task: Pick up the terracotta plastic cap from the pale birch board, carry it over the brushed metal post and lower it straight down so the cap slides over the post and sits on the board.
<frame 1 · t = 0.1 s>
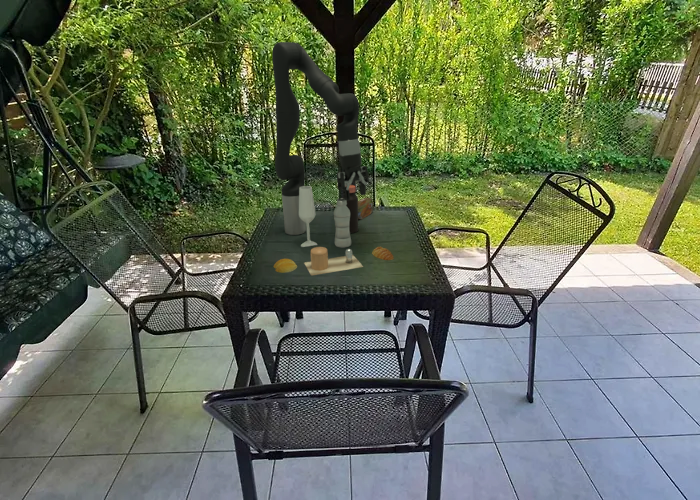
hand: (355, 197, 157), 22 cm above the table, tool pointing down, fingers open, 8 cm apart
post: (349, 262, 155), resting on board
vinegar: (350, 231, 188), on the table
bread roll: (285, 271, 153), on the table
pastry: (383, 259, 161), on the table
champagne flute: (309, 245, 174), on the table
tin: (363, 216, 205), on the table
plastic bottle: (343, 248, 171), on the table
cap: (319, 266, 152), point 1 cm above the table, touching board
board: (333, 268, 154), on the table
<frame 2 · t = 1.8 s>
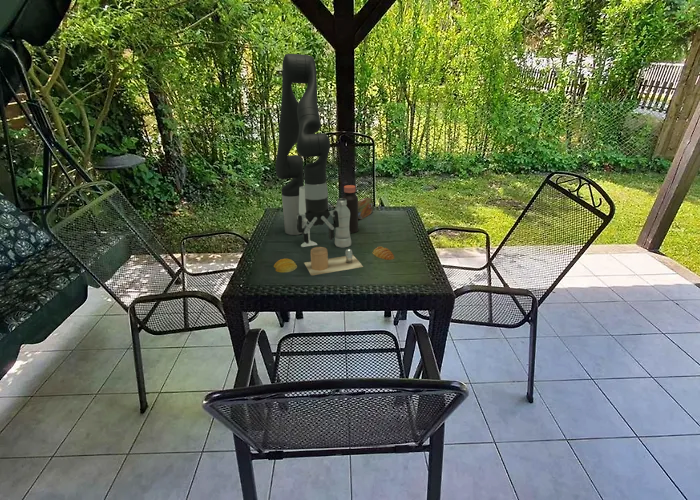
hand: (318, 241, 147), 12 cm above the table, tool pointing down, fingers open, 8 cm apart
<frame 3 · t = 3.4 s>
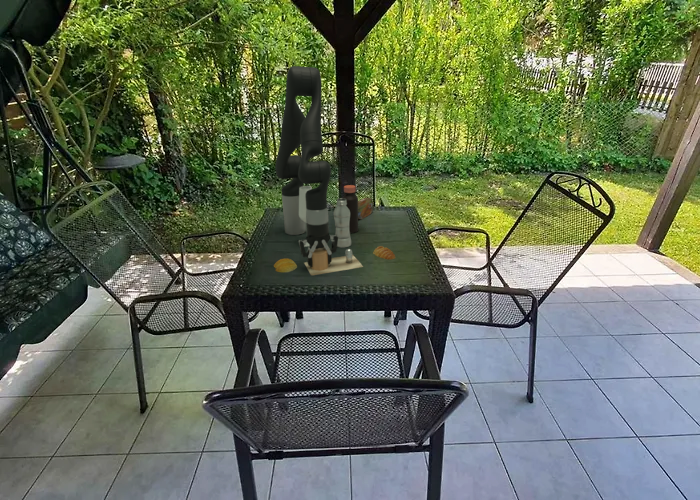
hand: (319, 264, 151), 2 cm above the table, tool pointing down, fingers closed on cap, 5 cm apart
cap: (319, 266, 152), point 1 cm above the table, touching board, gripper
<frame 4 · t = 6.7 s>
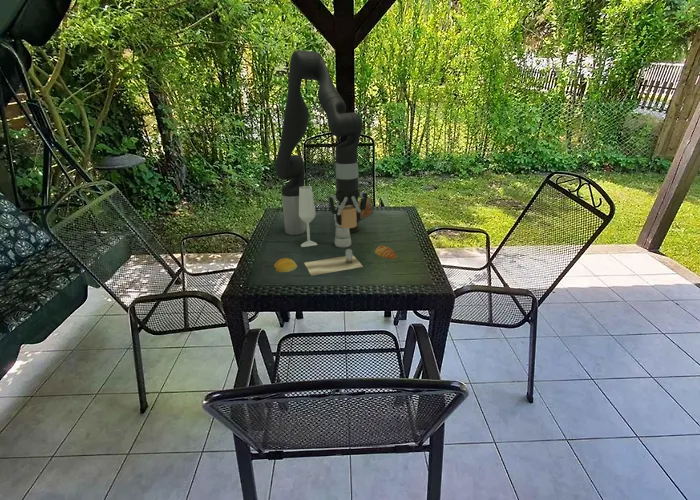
hand: (348, 223, 149), 17 cm above the table, tool pointing down, fingers closed on cap, 5 cm apart
cap: (348, 225, 149), point 16 cm above the table, touching gripper
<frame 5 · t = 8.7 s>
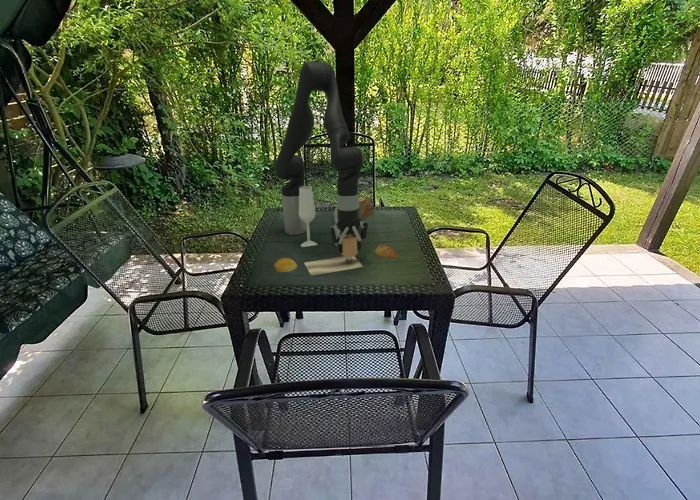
hand: (349, 251, 153), 6 cm above the table, tool pointing down, fingers closed on cap, 5 cm apart
cap: (349, 253, 153), point 5 cm above the table, touching gripper
when the fingers open (3 cm above the table, at t = 10.2 s): cap stays where it is, resting on board.
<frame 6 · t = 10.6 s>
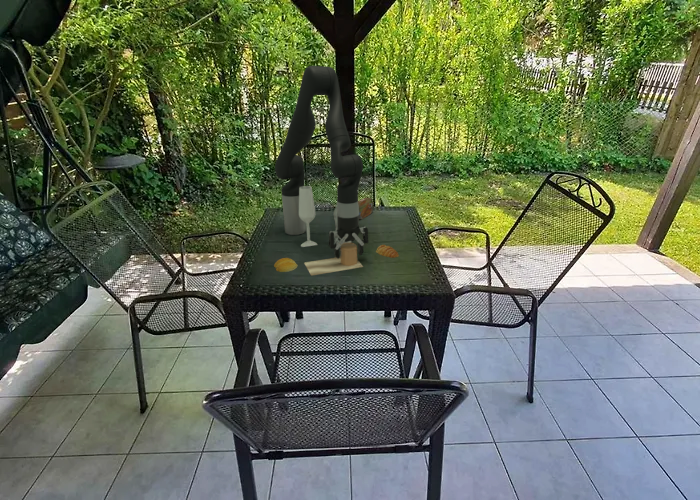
hand: (348, 256, 154), 4 cm above the table, tool pointing down, fingers open, 8 cm apart
cap: (349, 262, 155), point 1 cm above the table, touching board
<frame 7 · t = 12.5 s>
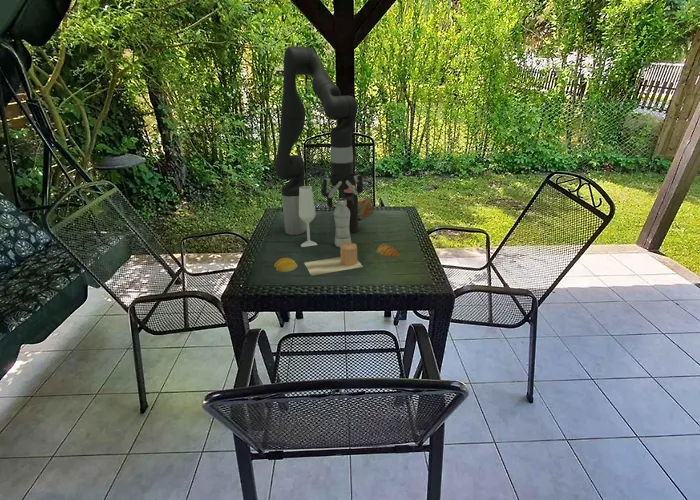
hand: (342, 206, 148), 22 cm above the table, tool pointing down, fingers open, 8 cm apart
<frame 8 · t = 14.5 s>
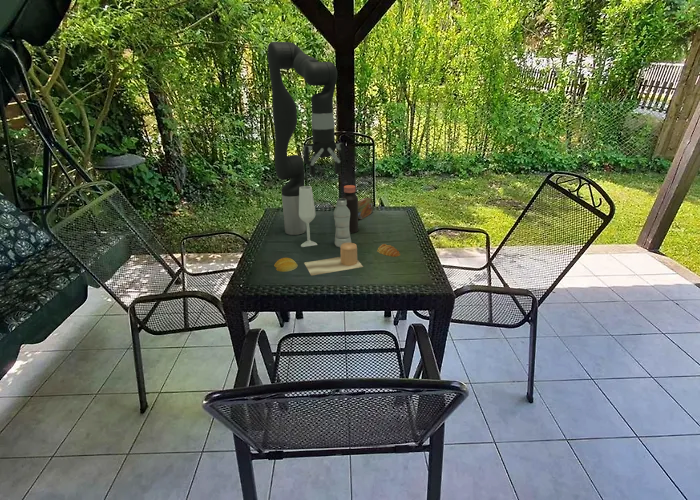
hand: (325, 174, 149), 32 cm above the table, tool pointing down, fingers open, 8 cm apart
at the end: cap 0.0 cm off-centre on the post, point 0.0 cm above the post's base; cap tilted 0°; the gripper is holding nothing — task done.
